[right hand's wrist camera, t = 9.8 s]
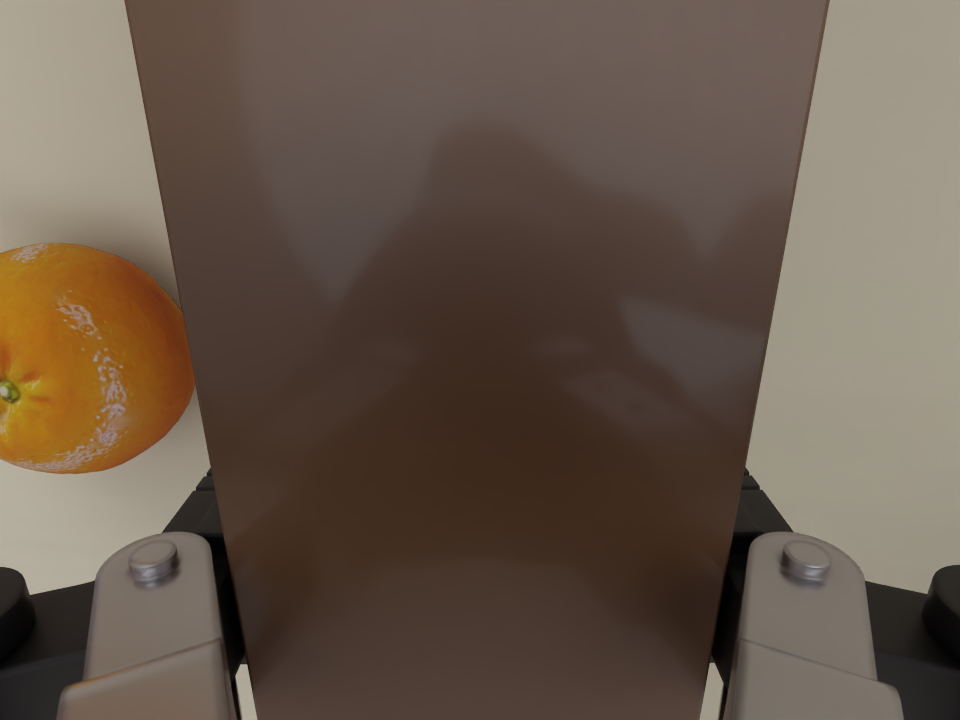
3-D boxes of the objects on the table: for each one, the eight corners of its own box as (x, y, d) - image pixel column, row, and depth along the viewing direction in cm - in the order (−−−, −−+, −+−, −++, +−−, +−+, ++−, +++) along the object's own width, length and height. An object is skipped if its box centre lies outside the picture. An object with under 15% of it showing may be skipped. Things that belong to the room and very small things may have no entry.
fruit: (-83, 187, 21) (-162, 381, 17) (197, 212, 24) (193, 379, 20) (-17, 344, 27) (-62, 517, 23) (199, 347, 31) (196, 497, 26)
